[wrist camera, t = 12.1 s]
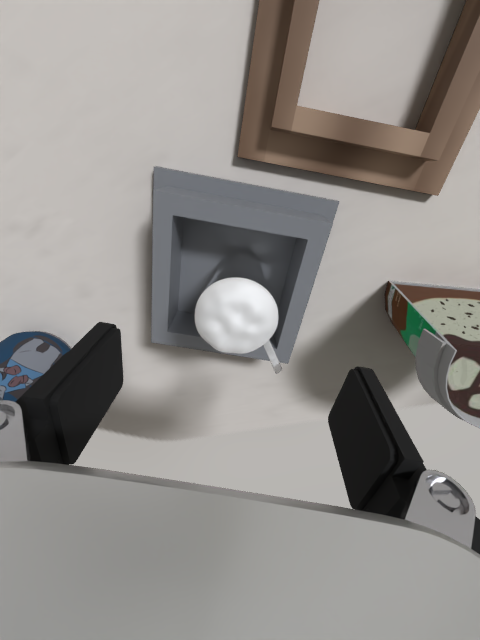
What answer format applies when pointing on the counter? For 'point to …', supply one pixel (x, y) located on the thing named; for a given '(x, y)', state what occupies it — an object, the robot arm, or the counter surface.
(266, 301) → the milkshake
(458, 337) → the food container
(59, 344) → the soda can
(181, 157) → the counter surface
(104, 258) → the counter surface
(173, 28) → the counter surface
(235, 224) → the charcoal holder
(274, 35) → the walnut dock
